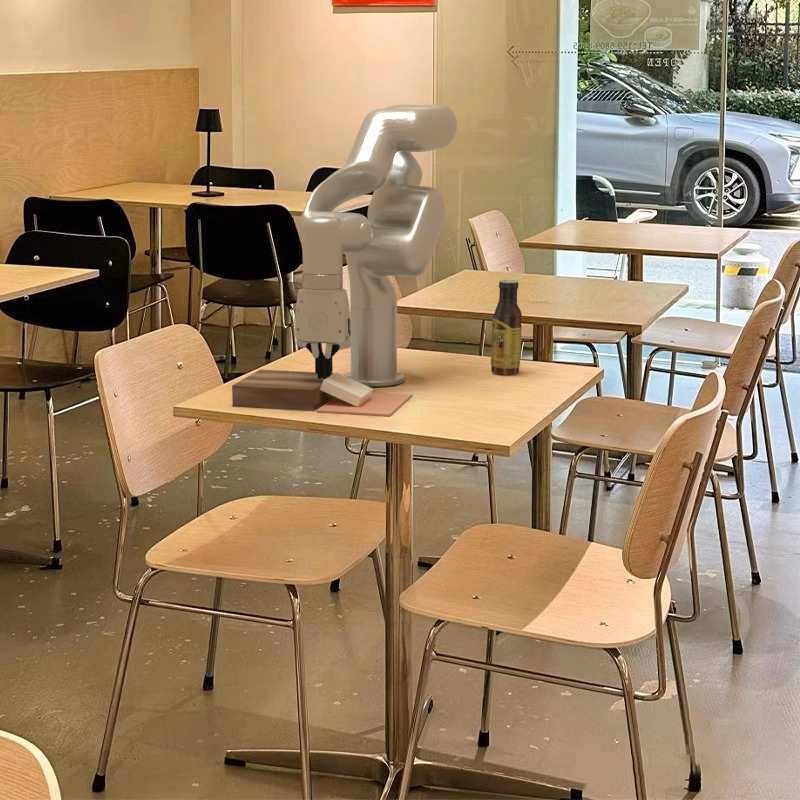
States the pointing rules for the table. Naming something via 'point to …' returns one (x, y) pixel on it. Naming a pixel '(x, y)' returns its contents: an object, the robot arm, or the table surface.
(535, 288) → the table surface
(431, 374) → the table surface
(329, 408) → the mat
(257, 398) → the deck
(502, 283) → the sauce bottle
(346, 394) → the cream block
